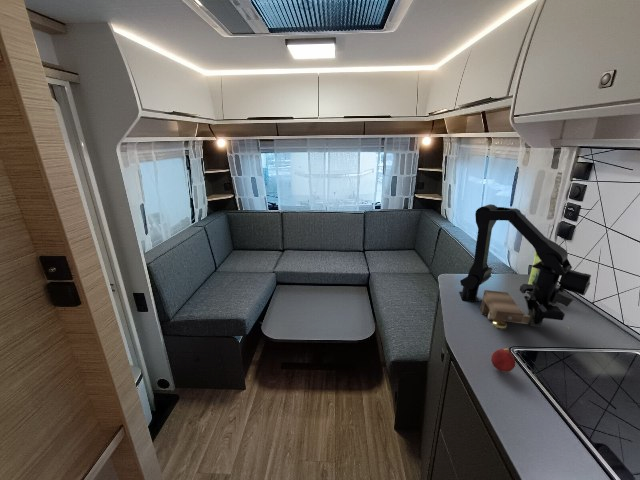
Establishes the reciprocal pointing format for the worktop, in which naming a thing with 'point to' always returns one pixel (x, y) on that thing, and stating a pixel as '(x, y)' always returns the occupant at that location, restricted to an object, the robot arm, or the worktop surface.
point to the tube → (534, 269)
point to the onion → (503, 360)
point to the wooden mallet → (523, 319)
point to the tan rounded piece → (499, 324)
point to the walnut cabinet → (500, 306)
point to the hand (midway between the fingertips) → (534, 320)
